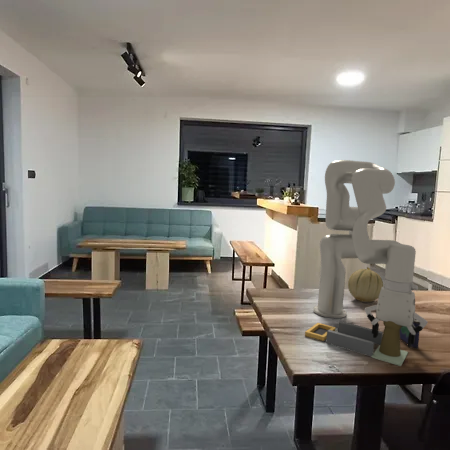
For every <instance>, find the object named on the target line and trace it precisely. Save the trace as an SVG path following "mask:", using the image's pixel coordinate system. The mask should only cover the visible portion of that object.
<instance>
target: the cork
mask: <svg viewBox="0 0 450 450" xmlns="http://www.w3.org/2000/svg"><path fill="white" fill-rule="evenodd" d="M382 323H383V326H384V328H383V331H382V332H383V335H382V340H381V344H380V345H379V346H380V348H379V351H380V352H381V353H382V354H384V355H387V356H391V357H398V356H400V355H401V352H400V350H401V340H400V329H401V327H402V326H401V325H397V324H395V323H394V322H392V321H387V322H384V321H382Z"/></svg>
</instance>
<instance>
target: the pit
mask: <svg viewBox="0 0 450 450" xmlns="http://www.w3.org/2000/svg"><path fill="white" fill-rule="evenodd" d="M336 329H337V328H336V326H332V325H328V324H324V323H320V322H316V323H315V324H313V326H311V327H310V328H309V329H307V330H305V331H304V337H307V338H309V339H314V340H316V341H319V342H325V341H326V339H327V331H328V330H332V331H336ZM336 332H337V331H336Z"/></svg>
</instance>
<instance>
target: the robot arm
mask: <svg viewBox="0 0 450 450" xmlns="http://www.w3.org/2000/svg"><path fill="white" fill-rule="evenodd" d="M324 172H325V173H324V184H325V185H324V186H325V191H326V202H325V203H326V205H325V206H326V207H325V225H326V228H327V229H329V230H331V231H335V232H336V231H339V232H342V231H343V232H345V231H346V232H348V234H347V233H346V234H343V233H330V234H326V235H324V236H323V237H322V238H321V239H320V243H319V252H320V272H319V273H320V274H319V283H318V284H319V286H318V299H317V305H315V306H314V307H313V312H314V314H316V315H318V316H321V317H324V318H328V319H329V318H331V319H343V318H344V317H346V316H347V311H346V310H345V309H344V308H343V307H344V295H345V287H346V286H345V285H346V267H345V264H344V263H343V261H342V260H344V259H358V260H359V261H360V262H361V263H362V264H365V265H366V264H367V265H371V264H372V265H378V264H379V265H385V270H384V271H385V272H384V281H383V287H382V288H381V291H380V294H379V298H378V299H377V304H374V305H370V306H366V307H365V308H364V312H365V315H366V317H367V319H368V320H369V321H370V323H371V329H372V334H373V338H376V337H377V336H378V331H380V330H379V328H380V327H379V325H380V323H379V322H380V321H381V322H383V321H384V322H387V321H392V322H394V323H395V324H397V325H401V326H405V327H407V328H408V330H409V331H410V333H409V336H408V345H407V348H411V345H412V344H413V345H414V341H415V334H416V333H418V332H419V333H420V332H421V331H423V330H424V328H425V327H426V326H427V325H428V320H427V319H425V318H424V317H422V316H421V315H420V314H419V313H417V312H416V294H415V291H418V288H419V287H418V286H419V285H417V284H415V283H414V274H415V273H414V272H415V271H414V270H415V262H416V253H417V252H416V248H415V247H414V246H412V245H409V244H404V243H401V242H399V241H396V240H392V239H391V240H390V239H370V236H369V233H368V223H369V222H370V221H371V220H373V219H376V218H378V217H380V216H382V215H383V214H384V213H386V211H387V205H386V201H385V199H384V195H385V194H389V193H391V192H392V191H394V188H395V186H396V185H395V183H396V181H395V176H394V175H393V173H392V172H391V171H390V170H389V169H387V168H385V167H383V166H380V165H378V164H376V163H374V162H370V161H361V160H350V159H344V160H343V159H340V160H339V159H338V160H334V161H331V162H330V163H329V164H328V165H327V167H326V170H325V171H324ZM345 184H349V185H350V184H351V185H352V188H353V189H352V190H353V193H354V196H355V202H356V205H357V206H350V200H351V199H350V196H351V195H350V193H349V190H348V188H347V186H346V185H345ZM372 311H375V316H374V315H373V313H372ZM414 318H415V319H416V320H417V321H419V322H420V325H419V326H417V327H416V328H415V326H414V325H413V322H414Z"/></svg>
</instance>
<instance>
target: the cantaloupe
mask: <svg viewBox="0 0 450 450" xmlns="http://www.w3.org/2000/svg"><path fill="white" fill-rule="evenodd" d="M382 287H384V281H383V279H382V277H381V275H380V274H378V273H377V272H375V271H374V270H371V268H370V267H368V266H367V267H366V268H360V269H357V270H355V271H354V272H352V273H351V274H350V276H349V278H348V281H347V288H348V291H349V293H350V295H351V297H353V298H354V299H355V300H357V301H359V302H364V303H370V302H375V301H376V300H378V298H379V294H380V291H381V288H382Z"/></svg>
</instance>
